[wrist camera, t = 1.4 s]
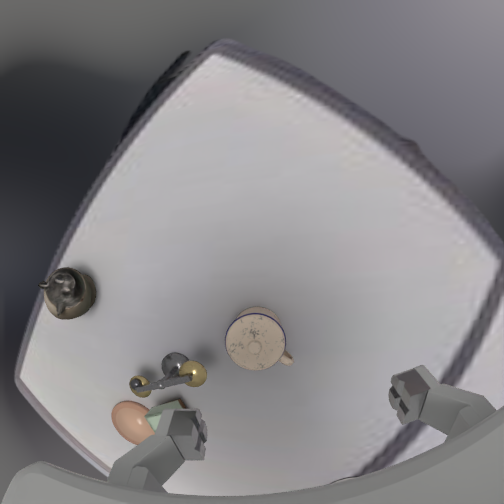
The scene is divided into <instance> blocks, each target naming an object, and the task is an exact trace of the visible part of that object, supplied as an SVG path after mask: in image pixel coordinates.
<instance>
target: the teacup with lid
mask: <svg viewBox="0 0 504 504" xmlns="http://www.w3.org/2000/svg"><path fill="white" fill-rule="evenodd" d="M225 346H226V350H227V352H228V354H229V356H230V358H231V359H232V360H233V361H234V362H235V363H236V364H237V365H239V366H241V367H243V368H245V369H248V370H263V369H266V368H269V367H271V366H272V365H274V364H275V363H276V362H278V361H280V362H281V363H283V364H285V365H287V366H291V365H292V364H293V362H294V359H293V357H292V356H291V355H290V354H289V353H288V352H287V351H286V350H285V346H286V337H285V333H284V331H283V329H282V327H281V323H280V321H279V319H278V317H277V316H276V315H275V314H274V313H273V312H272V311H270V310H268V309H266V308H263V307H252V308H248V309H246V310H244V311H243V312H241V313H240V314H239V315H238V317H237V318H236V320H235V321H234V322H233V323H232V324H231V325H230V327H229V328H228V330H227V333H226V337H225Z"/></svg>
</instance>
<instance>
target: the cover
mask: <svg viewBox="0 0 504 504" xmlns="http://www.w3.org/2000/svg"><path fill="white" fill-rule="evenodd" d="M165 408H168V409H183V408H182V407H181V405H180V404H179V402H178V400H176V401H173V402H169V403H166V404H162V405H159V406H155V407H152V408H151V409H150V410H149V411H148V413H147V414H146V415H145V416H144V417H145V419H146V420H147V422H148V423H149V425H150V426H151V428H152V429H153V431H154V432H156V429H157V426H158V423H159V420H160V417H161V414H162V411H163V410H164V409H165Z"/></svg>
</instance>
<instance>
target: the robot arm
mask: <svg viewBox="0 0 504 504" xmlns="http://www.w3.org/2000/svg"><path fill="white" fill-rule="evenodd" d="M391 383H392V385H393V386H392V387H391V388H390V389H389V402H390V404H391V406H392V408H393V409H395V410H397V417H398V419H399V420H400V422H401V424H402V425H403V424H406V423H409V422H412V421H414V420H417V419H419V420H420V421H422V422H424V423H426V424H428V425H430V426H431V427H433V428H435V429H437V430H439V431H441V432H443V433H444V434H446V435H448V436H447V438H446V440H445V442H444V443H443V444H441V445H439V446H437V447H435V448H433V449H430V450H428V451H426V452H424V453H422V454H420V455H417V456H415V457H413V458H410V459H408V460H406V461H403V462H401V463H398V464H395V465H393V466H390V467H387V468H385V469H382V470H379V471H376V472H373V473H370V474H366V475H363V476H360V477H353V478H346V479H342V480H339V481H336V482H334V483H332V484H329V485H324V486H319V487H314V488H308V489H303V490H296V491H290V492H282V493H273V494H262V495H248V496H197V495H182V494H172V493H168V492H167V491H166V490H165V489H164V488H163V487H162V485H163V484H164V483H165V482H166V481H167V480H168V479H169V478H170V477H171V476H172V475H173V474H174V473H175V471H176V470H177V469H178V468H179V467H180V466H181V465H182V464H183V463H184V462H185V461H184V460H204V457H205V450H206V448H205V446H204V443H205V442H206V441H207V427H206V424H205V421H203V420H202V419H201V417H202V414H201V412H200V409H168V408H165V409H164V410H163V411H162V414H161V417H160V420H159V423H158V426H157V429H156V432H155V435H150V436H149V437H148V438H146V439H145V440H144V441H142V442H141V443H140V444H138V445H137V446H136V447H134V448H133V449H132V450H130V451H129V452H127V453H126V454H125V455H123V456H122V457H120V458H119V459H118V460H116V461H115V462H114V464H113V467H112V469H111V472H110V474H109V477H108V479H107V482H105V481H101V480H97V479H94V478H90V477H87V476H83V475H80V474H77V473H74V472H71V471H68V470H66V469H63V468H60V467H57V466H55V465H52V464H50V463H47V462H44V461H39V462H36V463H34V464H32V465H30V466H28V467H26V468H24V469H22V470H20V471H19V472H17V474H16V475H15V476H14V478H13V480H12V482H11V483H10V485H9V487H8V489H7V492H6V494H5V496H4V498H3V501H2V503H1V504H504V406H502V407H501V408H500V409H498V410H496V409H495V408H494V407H493V406H492V405H491V404H490V402H489V401H488V400H487V399H486V398H485V397H484V396H482V395H479V394H475V393H472V392H469V391H465V390H462V389H459V388H456V387H452V386H449V385H446V384H440V383H439V382H438V381H437V380H436V379H435V377H434V376H433V375H432V374H431V373H430V372H429V370H428V369H427V368H426V367H425V366H424V365H420V366H418V367H415V368H413V369H410V370H407V371H404V372H401V373H398V374H395V375H393V376H392V378H391Z"/></svg>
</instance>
